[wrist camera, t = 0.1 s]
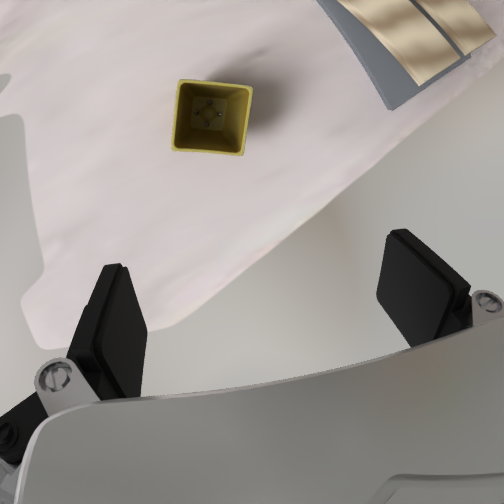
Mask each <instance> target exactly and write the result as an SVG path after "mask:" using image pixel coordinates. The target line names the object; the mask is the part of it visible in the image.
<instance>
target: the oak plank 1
mask: <svg viewBox="0 0 504 504" xmlns="http://www.w3.org/2000/svg"><path fill="white" fill-rule="evenodd" d="M337 1H338V2H340V3H341V4H342V5H343V6H344V7H345V8H346V9H347V10H349V11H350V12H351V13H352V14H353V15H354V16H355V17H356V18H357V19H358V20H359V21H360V22H361V23H362V24H363V25H364V26H366V27H367V28H368V29H369V30H370V31H371V32H372V33H373V34H374V35H375V37H376V38H377V39H378V40H379V41H380V42H381V43H382V44H383V45H384V46H385V47H386V48H387V49H388V50H389V51H390V52H391V54H392V55H393V56H394V57H395V58H396V59H397V60H398V61H399V63H400V64H401V65H402V66H403V67H404V68H405V70H406V71H407V72H408V73H409V74H410V76H411V77H412V78H413V79H414V81H415V82H416V83H417V84H418V86H420V85H422V84H423V83H425V82H426V81H428V80H429V79H431V78H432V77H434V76H435V75H437V74H438V73H440V72H441V71H443V70H444V69H446V68H447V67H449V66H450V65H452V64H453V63H455V62H456V61H458V60H459V59H460V58H461V57H460V56H459V55H458V54H457V52H456V51H455V50H454V49H453V47H452V46H451V45H450V44H449V43H448V41H447V40H446V39H445V38H444V37H443V36H442V35H441V33H440V32H439V31H438V30H437V29H436V28H435V27H434V26H433V25H432V23H431V22H430V21H429V20H428V19H427V18H426V17H425V16H424V15H423V14H422V13H421V12H420V11H419V10H418V9H417V8H416V7H415V6H414V5H413V4H412V3H411V2H410V1H409V0H337Z"/></svg>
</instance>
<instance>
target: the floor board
mask: <svg viewBox="0 0 504 504" xmlns="http://www.w3.org/2000/svg"><path fill="white" fill-rule="evenodd" d="M409 1H410V2H411V3H412V4H413V5H414V6H415V7H416V8H417V9H418V10H419V11H420V12H421V13H422V14H423V15H424V16H425V17H426V18H427V19H428V20H429V21H430V22H431V23H432V25H433V26H434V27H435V28H436V29H437V30H438V31H439V32H440V33H441V35H442V36H443V37H444V38H445V39H446V40H447V41H448V43H449V44H450V45H451V46H452V47H453V49H454V50H455V51H456V52H457V54H458V55H459V56H460V57H461V58H460V59H459V60H458V61H456V62H455V63H453V64H452V65H450V66H449V67H447V68H446V69H444V70H443V71H441V72H440V73H438V74H437V75H435V76H434V77H432V78H431V79H429V80H428V81H426V82H425V83H423V84H422V85H420V86H418V84H417V83H416V82H415V81H414V79H413V78H412V77H411V76H410V74H409V73H408V72H407V71H406V70H405V68H404V67H403V66H402V65H401V64H400V63H399V61H398V60H397V59H396V58H395V57H394V56H393V55H392V54H391V52H390V51H389V50H388V49H387V48H386V47H385V46H384V45H383V44H382V43H381V42H380V41H379V40H378V39H377V38H376V37H375V35H374V34H373V33H372V32H371V31H370V30H369V29H368V28H367V27H366V26H364V25H363V24H362V23H361V22H360V21H359V20H358V19H357V18H356V17H355V16H354V15H353V14H352V13H351V12H350V11H349V10H347V9H346V8H345V7H344V6H343V5H342V4H341V3H340V2H338V1H337V0H317V2H318V3H319V4H320V6H321V7H322V8H323V9H324V11H325V12H326V13H327V15H328V16H329V17H330V19H331V20H332V21H333V23H334V24H335V25H336V27H337V28H338V30H339V31H340V32H341V34H342V35H343V37H344V38H345V40H346V41H347V43H348V44H349V45H350V47H351V48H352V50H353V51H354V53H355V55H356V56H357V58H358V59H359V61H360V62H361V64H362V66H363V67H364V69H365V70H366V72H367V74H368V75H369V77H370V79H371V80H372V82H373V84H374V86H375V87H376V89H377V91H378V93H379V94H380V96H381V98H382V100H383V101H384V103H385V105H386V107H387V109H388V110H392V111H393V110H394V109H396V108H397V107H399V106H400V105H401V104H403V103H404V102H406V101H407V100H409V99H410V98H411V97H413V96H414V95H416V94H417V93H419V92H420V91H422V90H423V89H425V88H426V87H427V86H429V85H430V84H432V83H433V82H435V81H436V80H438V79H439V78H441V77H442V76H444V75H445V74H447V73H448V72H450V71H451V70H453V69H454V68H456V67H457V66H459V65H460V64H462V63H463V62H465V61H466V60H468V59H469V58H471V55H470V53H469V54H467V55H466V56H465V55H464V54H463V53H462V51H461V50H460V49H459V48H458V46H457V45H456V44H455V43H454V42H453V40H452V39H451V38H450V37H449V36H448V35H447V33H446V32H445V31H444V30H443V29H442V28H441V27H440V26H439V24H438V23H437V22H436V21H435V20H434V19H433V18H432V17H431V16H430V15H429V14H428V13H427V12H426V11H425V10H424V9H423V8H422V7H421V6H420V5H419V4H418V3H417V2H416V1H415V0H409Z"/></svg>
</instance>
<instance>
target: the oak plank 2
mask: <svg viewBox="0 0 504 504" xmlns="http://www.w3.org/2000/svg"><path fill="white" fill-rule="evenodd" d="M415 1H416V2H417V3H418V4H419V5H420V6H421V7H422V8H423V9H424V10H425V11H426V12H427V13H428V14H429V15H430V16H431V17H432V18H433V19H434V20H435V21H436V22H437V23H438V24H439V26H440V27H441V28H442V29H443V30H444V31H445V32H446V33H447V35H448V36H449V37H450V38H451V39H452V40H453V42H454V43H455V44H456V45H457V46H458V48H459V49H460V50H461V51H462V53H463V54H464V55H465V56H466V55H467V54H469V53H470V52H472V51H474V50H475V49H477V48H478V47H480V46H482V45H483V44H485V43H486V42H488V41H489V40H491V39H492V38H494V37H495V36H496V34H495V33H494V32H493V30H492V29H491V28H490V27H489V25H488V24H487V23H486V22H485V21H484V19H483V18H482V17H481V16H480V15H479V14H478V12H477V11H476V10H475V9H474V8H473V7H472V6H471V5H470V3H469V2H468V1H467V0H415Z"/></svg>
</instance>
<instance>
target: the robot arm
mask: <svg viewBox="0 0 504 504" xmlns="http://www.w3.org/2000/svg"><path fill="white" fill-rule="evenodd" d="M470 288H471V285H470V284H469V283H468V282H467V281H466V280H464V279H463V278H462V277H461V276H460V275H459V274H458V273H457V272H456V271H455V270H453V268H451V267H450V266H449V265H448V264H447V263H446V262H445V261H444V260H443V259H441V258H440V257H439V256H438V255H437V254H436V253H435V252H434V251H432V250H431V249H430V248H429V247H428V246H427V245H425V244H424V243H423V242H422V241H421V240H419V239H418V238H417V237H416V236H415V235H413V234H412V233H411V232H410V231H409V230H407V229H397V230H392V231H391V232H390V234H389V235H387V238H386V244H385V250H384V256H383V261H382V267H381V273H380V277H379V282H378V287H377V293H376V295H377V299H378V302H379V303H380V304H381V305H382V307H383V309H384V310H385V311H386V313H387V314H388V315H389V317H390V318H391V319H392V321H393V322H394V324H395V325H396V327H397V328H398V329H399V331H400V332H401V333H402V335H403V337H405V339H406V341H407V342H408V344H409V345H410V347H411V348H409V349H405V350H402V351H399V352H395V353H393V354H389V355H385V356H382V357H378V358H375V359H371V360H367V361H364V362H360V363H356V364H352V365H348V366H344V367H340V368H336V369H331V370H327V371H323V372H318V373H313V374H309V375H304V376H299V377H294V378H289V379H283V380H278V381H272V382H267V383H261V384H254V385H248V386H242V387H234V388H227V389H219V390H211V391H202V392H192V393H183V394H174V395H173V394H172V395H162V396H161V395H160V396H148V397H140V394H141V384H142V375H143V366H144V358H145V357H144V356H145V349H146V342H147V327H146V324H145V321H144V318H143V315H142V312H141V309H140V306H139V303H138V300H137V297H136V294H135V291H134V287H133V284H132V281H131V278H130V274H129V271H128V268H127V267H123V266H122V265H121V264H120V263H117V264H109V265H104V267H103V269H102V271H101V274H100V276H99V278H98V281H97V283H96V285H95V288H94V290H93V292H92V295H91V297H90V300H89V302H88V305H86V306H85V308H84V310H83V313H82V315H81V318H80V320H79V323H78V325H77V328H76V331H75V333H74V336H73V339H72V342H71V345H70V347H69V350H68V353H67V356H66V358H55V359H52V360H50V361H48V362H46V363H45V364H44V365H42V366H41V367H40V369H39V370H38V371H37V374H36V376H35V380H34V385H35V389H36V392H35V393H33V394H32V395H30V396H29V397H28V398H26V399H25V400H23V401H22V402H21V403H19V404H18V405H17V406H15V407H14V408H12V409H11V410H10V411H9V412H7V413H6V414H4V415H3V416H1V417H0V504H504V302H503V300H502V299H501V298H500V297H499V296H498V295H496V294H494V293H493V292H490V291H487V290H477V291H475V292H474V293H473V294H472V297H471V296H470V295H469V291H470Z"/></svg>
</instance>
